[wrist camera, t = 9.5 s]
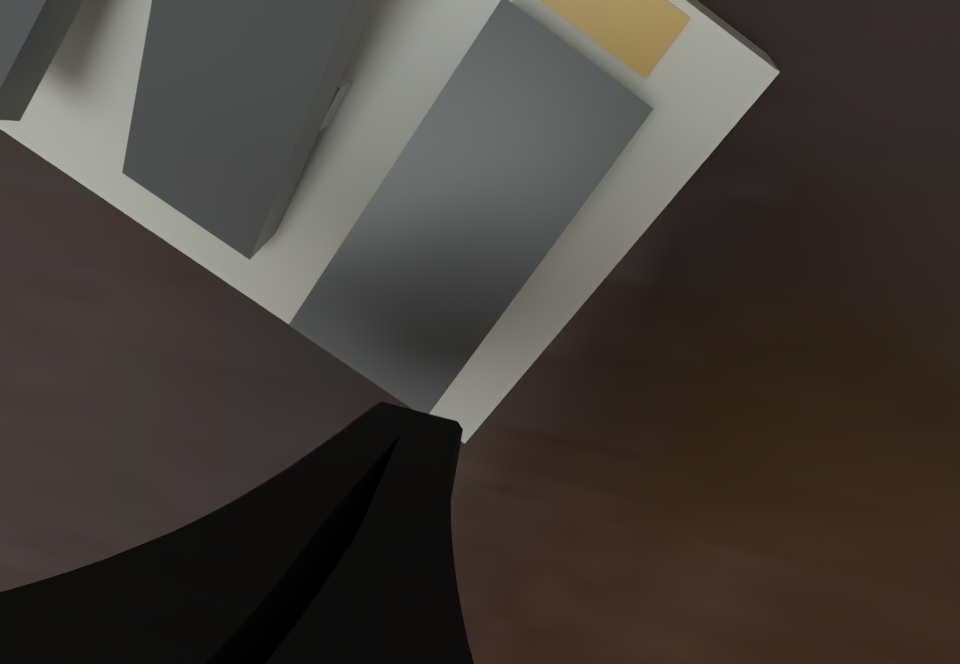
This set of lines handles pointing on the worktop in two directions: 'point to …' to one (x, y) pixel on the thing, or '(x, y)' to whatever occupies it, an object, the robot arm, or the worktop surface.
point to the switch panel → (389, 126)
